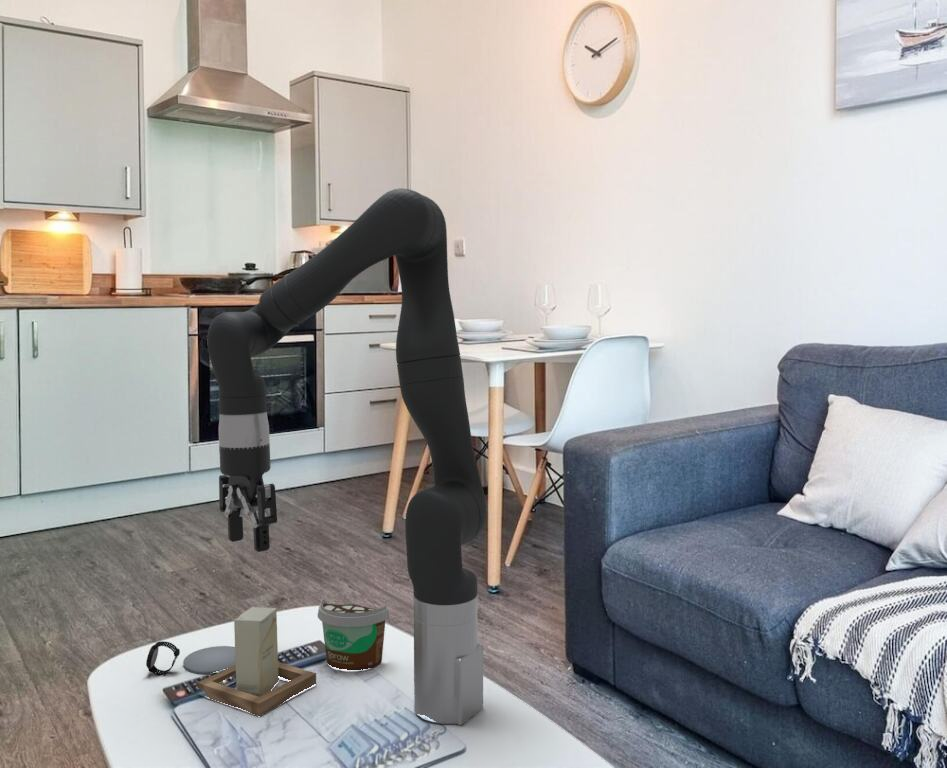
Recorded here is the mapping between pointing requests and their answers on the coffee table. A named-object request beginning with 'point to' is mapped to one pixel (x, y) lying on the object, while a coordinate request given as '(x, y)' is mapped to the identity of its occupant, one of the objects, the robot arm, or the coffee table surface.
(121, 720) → the coffee table surface
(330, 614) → the food container
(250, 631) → the skincare box
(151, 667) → the smartwatch
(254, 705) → the frame
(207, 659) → the slate coaster
